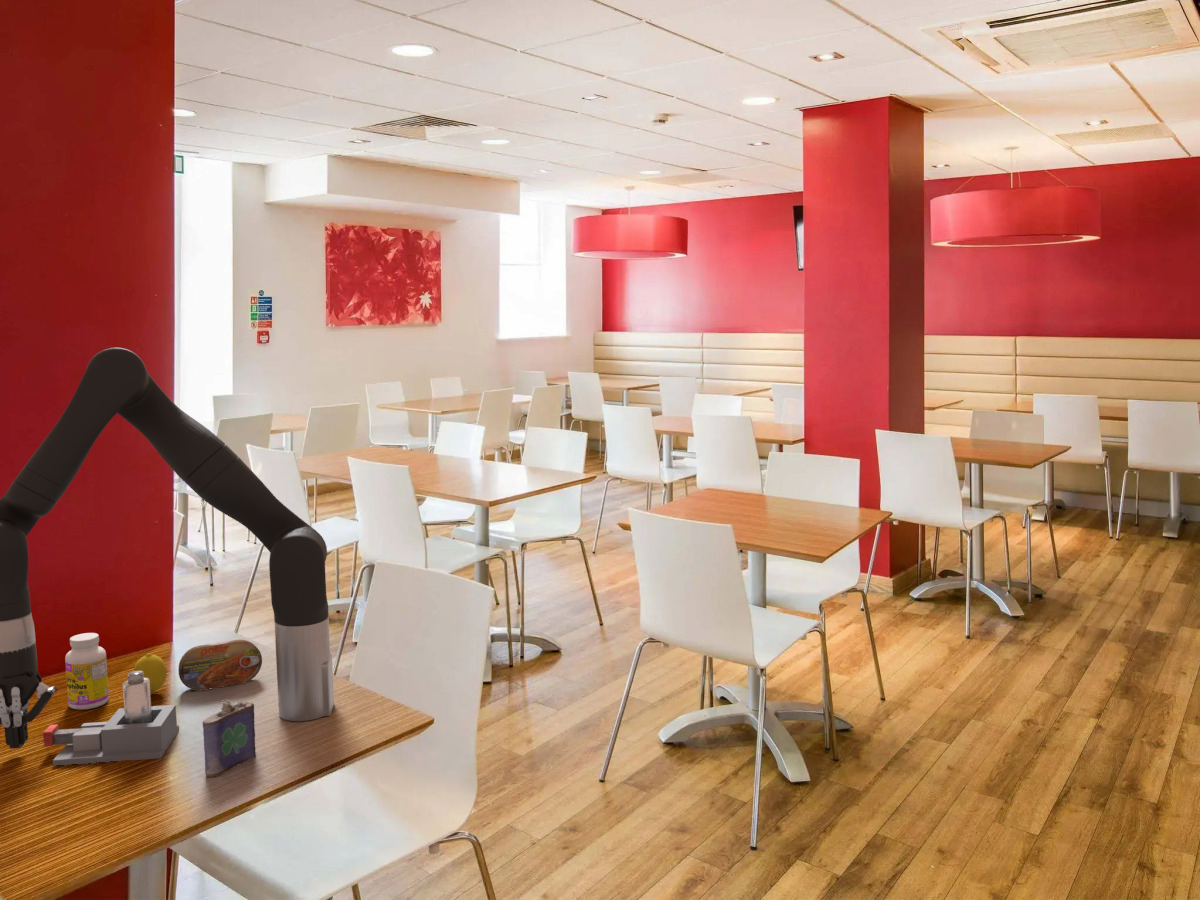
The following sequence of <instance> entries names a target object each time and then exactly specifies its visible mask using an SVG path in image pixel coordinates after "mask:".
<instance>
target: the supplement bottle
mask: <svg viewBox="0 0 1200 900" xmlns="http://www.w3.org/2000/svg"><path fill="white" fill-rule="evenodd" d="M99 642H100V637H99V634H98V633H96V632H85V633H80V634H79V633H78V634H76V635H73V636H71V637H70V638H69V645H70V647H71V650H69V651H68V652H67V653H66V654H65V658H64V660H65V661H64V663H65V676H66V677H65V678H66V688H67V689H66V690H67V691H66V692H67V702H68V707H69V708H70V709H73V710H82V711H83V710H85V711H86V710H91V709H96V708H99V707H101V706H103V705H105V704H106V703H107V702H108V701H109V698H110V695H109V694H110V692H109V678H108V667H107V665H108V663H107V652H106V650H105V648H103V647H102V646H99Z"/></svg>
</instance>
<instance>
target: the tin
mask: <svg viewBox="0 0 1200 900" xmlns="http://www.w3.org/2000/svg"><path fill="white" fill-rule="evenodd" d="M262 664H263V656H262V652H261V651H260V649H259V648H258V647H257V646H256V645H255V644H254V643H252V642H251V641H249V640H246V639H233V640H228V641H227V640H226V641H221V642H215V643H209V644H202V645H196V646H193V647H192V648H190V649H188V650H187V651H186V652H185V653H184V654H183V655H182V656H181V659H180V661H179V663H178V677H179V680H180V682H181V684H183V685H184V686H185V687H187V688H188V689H190V690H193V691H197V692H198V691H199V690H201V691H206V690H205V689H208V690H211V689H210V688H213V689H217V688H216V687H219V688H223V687H222V686H225V687H227V686H226V685H231V686H233V685H232V684H237V685H240V684H239V683H242V684H245V682H246V683H248V682H250V681H251V680H253V679H254V678H255V677H256V676H257V675H258V674H259V672H260V670H261V668H262Z"/></svg>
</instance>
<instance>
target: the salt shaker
mask: <svg viewBox="0 0 1200 900" xmlns="http://www.w3.org/2000/svg"><path fill="white" fill-rule="evenodd" d="M126 676H127V680H126V681H125V680H124V681H123V682H122V695H123V708H124V712H125V724H140V723H152V709H151V706H152V699H151V698H152V697H151V695H152V694H150V680H149V679H148V678H144V672H143V671H134V670H133V671H130V672H128V673H127V675H126Z"/></svg>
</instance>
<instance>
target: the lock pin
mask: <svg viewBox="0 0 1200 900" xmlns="http://www.w3.org/2000/svg"><path fill="white" fill-rule="evenodd" d="M102 728H103V727H92V728H81V727H80V728H68V729H67V728H66V729H60V727H59V724H50V725H48V727H47V728H46V729H45V730H43V732H42V736H43V747H54V746H57V745H58V746H59V745H67V744H73V735H74V733H78V732H92V731H101V729H102Z"/></svg>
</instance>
